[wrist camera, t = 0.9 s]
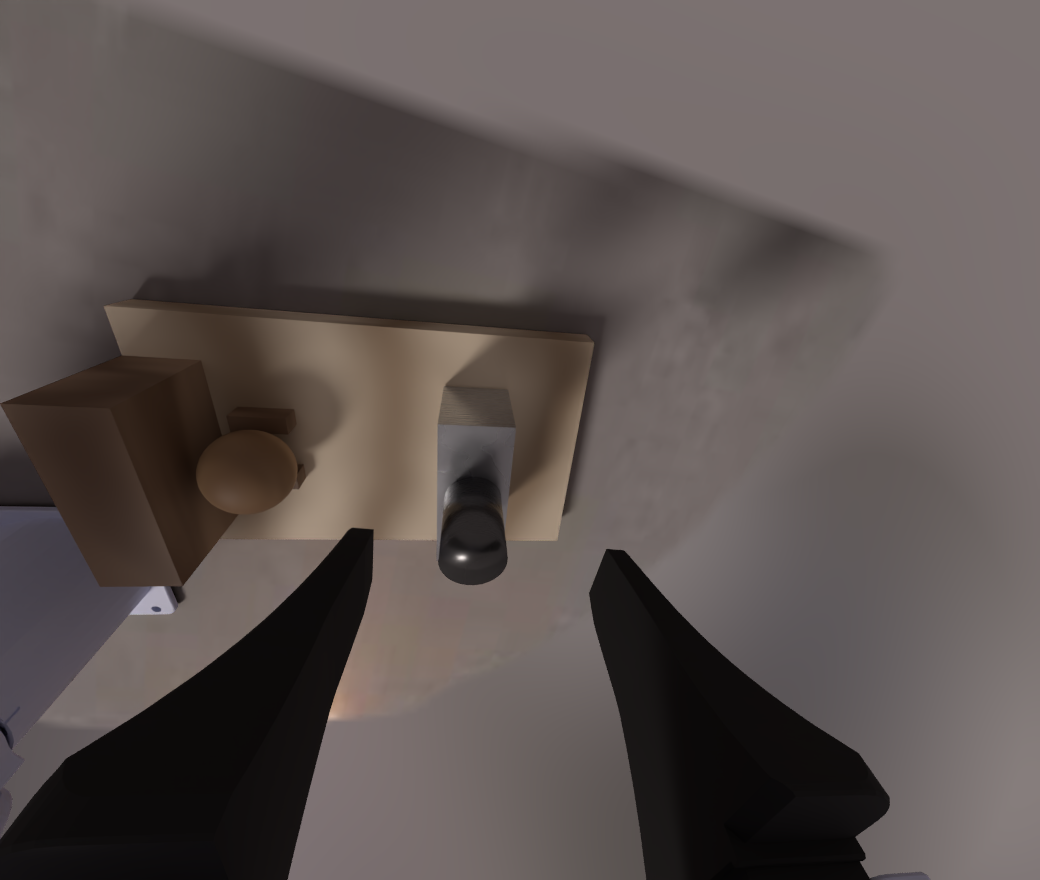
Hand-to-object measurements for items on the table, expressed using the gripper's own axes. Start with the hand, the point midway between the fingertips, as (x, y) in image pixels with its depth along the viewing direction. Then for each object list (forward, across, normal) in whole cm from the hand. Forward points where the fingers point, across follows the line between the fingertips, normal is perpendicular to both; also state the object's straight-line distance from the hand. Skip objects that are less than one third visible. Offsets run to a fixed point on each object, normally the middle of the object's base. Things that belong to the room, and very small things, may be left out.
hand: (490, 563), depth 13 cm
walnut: (+6, +10, +2) cm, 12 cm away
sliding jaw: (+9, 0, +1) cm, 9 cm away
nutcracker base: (+10, +5, +2) cm, 12 cm away
